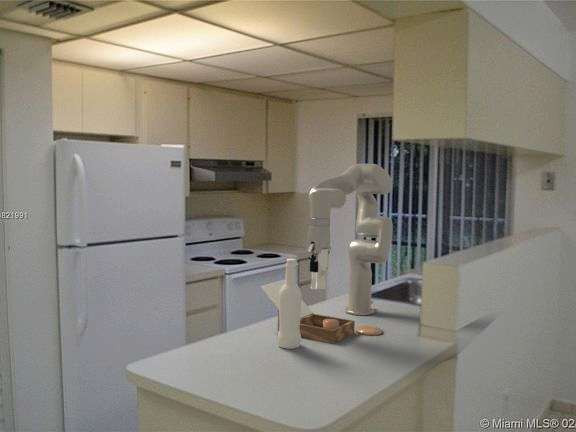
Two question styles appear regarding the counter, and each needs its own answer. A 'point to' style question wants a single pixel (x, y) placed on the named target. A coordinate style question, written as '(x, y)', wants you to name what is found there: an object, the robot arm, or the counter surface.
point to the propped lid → (273, 295)
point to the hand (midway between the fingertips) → (318, 270)
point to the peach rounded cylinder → (330, 324)
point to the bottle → (290, 309)
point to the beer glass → (320, 271)
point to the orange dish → (369, 330)
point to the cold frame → (325, 334)
